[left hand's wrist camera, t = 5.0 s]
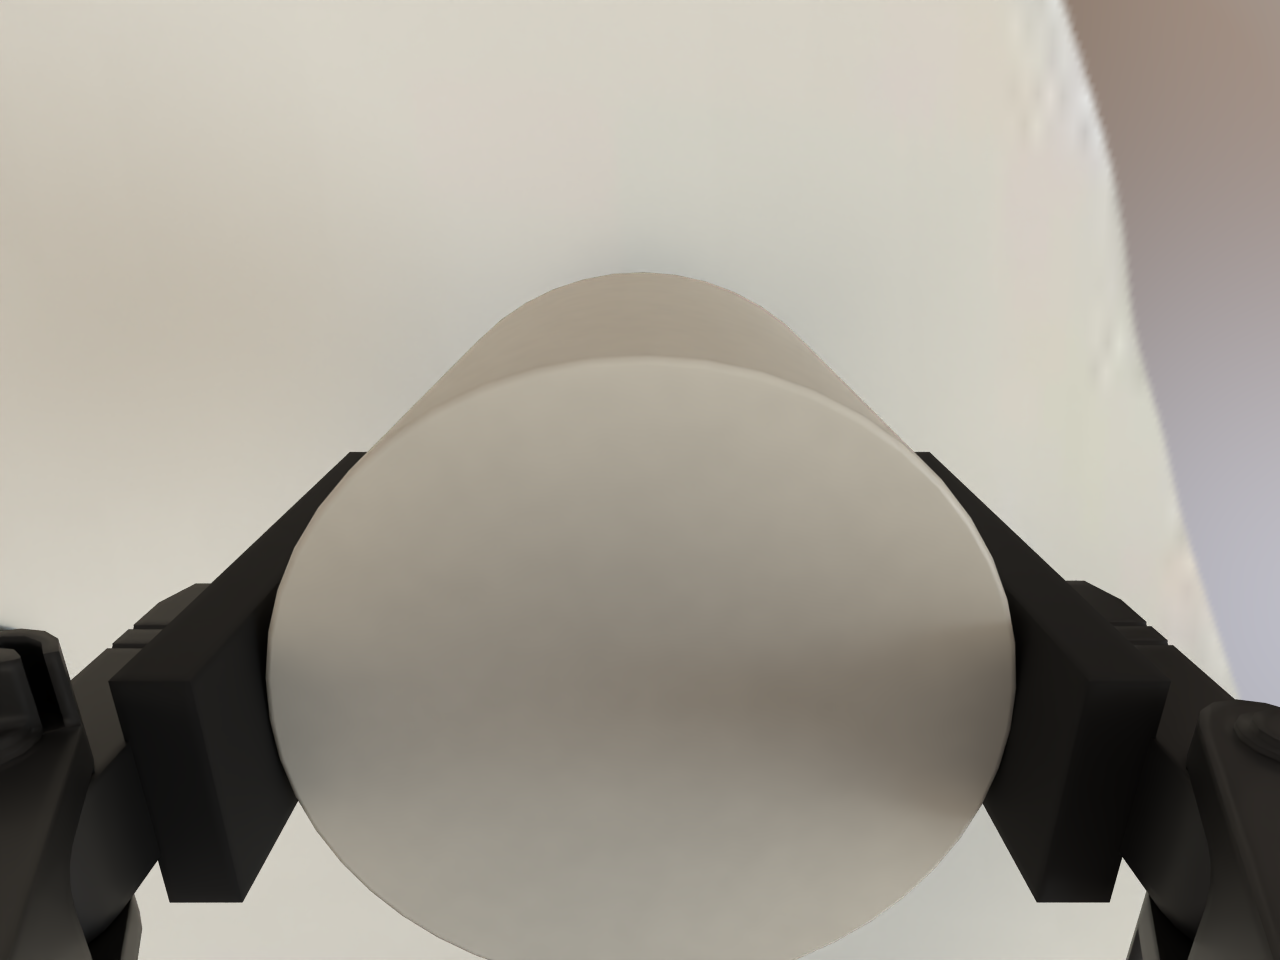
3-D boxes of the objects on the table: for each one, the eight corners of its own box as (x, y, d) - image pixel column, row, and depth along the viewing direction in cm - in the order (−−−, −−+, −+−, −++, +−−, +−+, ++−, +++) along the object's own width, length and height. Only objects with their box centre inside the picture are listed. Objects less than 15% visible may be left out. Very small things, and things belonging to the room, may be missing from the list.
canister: (646, 166, 13) (651, 153, 7) (943, 496, 15) (1167, 732, 9) (337, 487, 15) (110, 719, 9) (635, 739, 17) (634, 1079, 11)
